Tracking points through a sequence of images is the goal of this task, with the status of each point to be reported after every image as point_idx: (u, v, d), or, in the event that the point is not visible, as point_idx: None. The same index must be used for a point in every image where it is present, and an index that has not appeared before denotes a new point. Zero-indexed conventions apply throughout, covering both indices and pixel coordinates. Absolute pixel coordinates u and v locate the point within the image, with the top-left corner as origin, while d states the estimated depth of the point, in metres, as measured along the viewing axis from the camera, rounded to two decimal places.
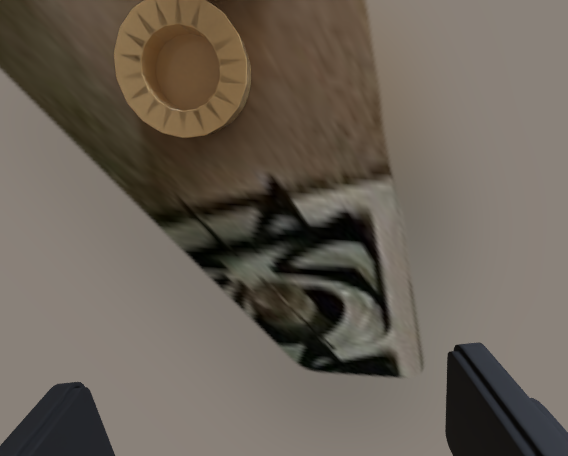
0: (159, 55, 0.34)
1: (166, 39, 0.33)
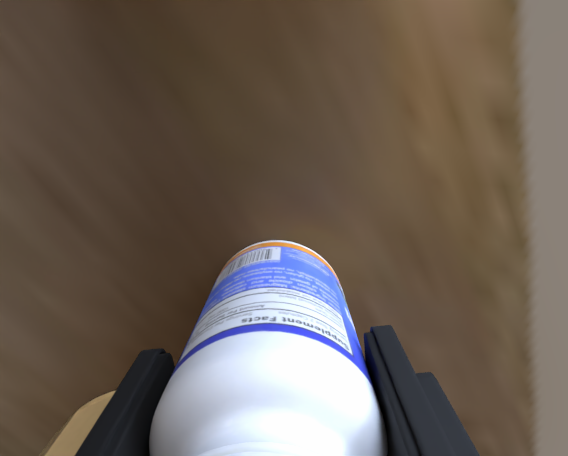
0: None
1: None
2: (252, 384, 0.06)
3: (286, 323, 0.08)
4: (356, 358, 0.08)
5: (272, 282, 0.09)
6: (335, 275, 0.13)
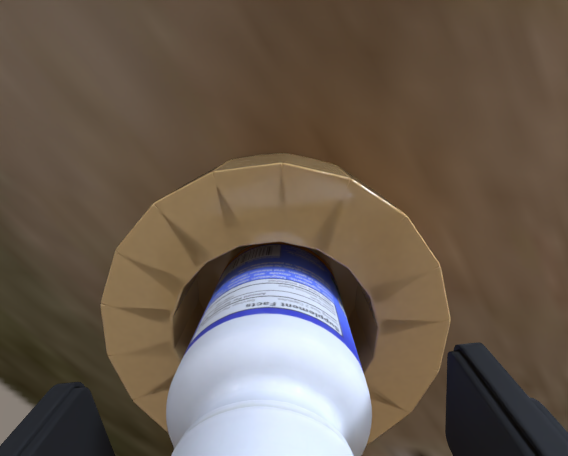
0: None
1: None
2: (255, 355, 0.07)
3: (284, 307, 0.09)
4: (345, 339, 0.09)
5: (273, 274, 0.11)
6: (330, 271, 0.14)
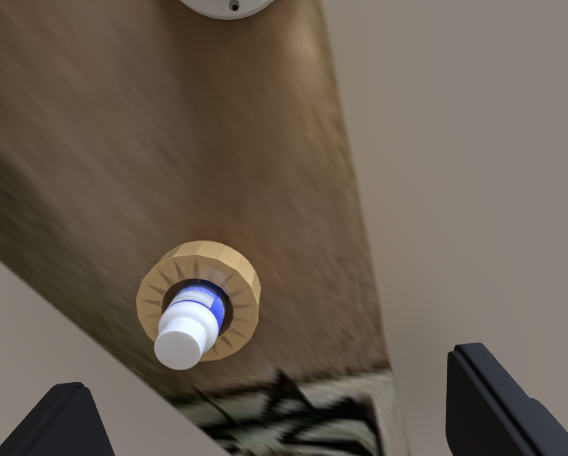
0: None
1: None
2: (180, 312, 0.29)
3: (192, 299, 0.30)
4: (211, 309, 0.31)
5: (194, 289, 0.32)
6: None
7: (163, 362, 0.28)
